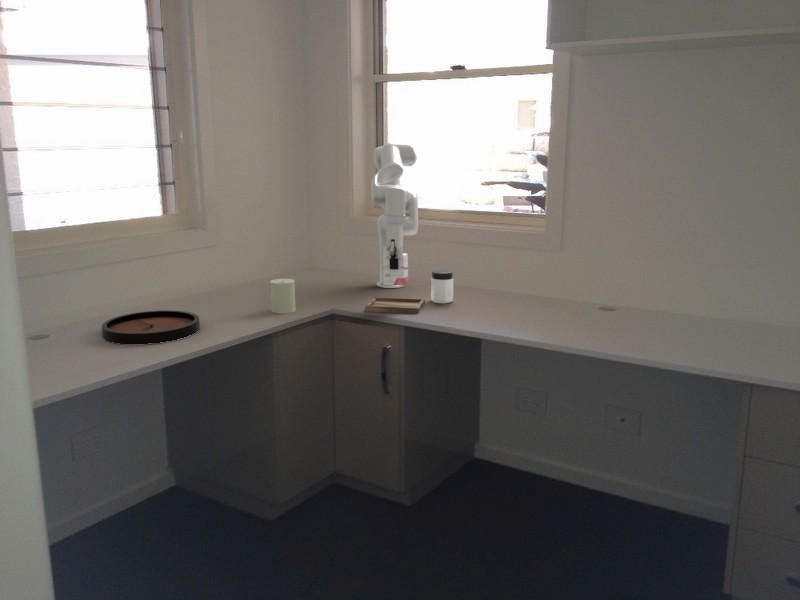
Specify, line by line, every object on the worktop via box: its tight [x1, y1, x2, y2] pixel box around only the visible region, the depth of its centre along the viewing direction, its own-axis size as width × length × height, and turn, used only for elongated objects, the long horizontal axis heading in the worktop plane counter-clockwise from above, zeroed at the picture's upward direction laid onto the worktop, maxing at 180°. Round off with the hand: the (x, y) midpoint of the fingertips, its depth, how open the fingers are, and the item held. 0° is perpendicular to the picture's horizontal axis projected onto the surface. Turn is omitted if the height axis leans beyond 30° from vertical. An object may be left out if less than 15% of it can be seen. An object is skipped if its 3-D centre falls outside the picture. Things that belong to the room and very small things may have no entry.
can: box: [269, 278, 297, 315], centre depth 275 cm, size 9×9×12 cm
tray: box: [365, 296, 426, 315], centre depth 280 cm, size 16×20×2 cm
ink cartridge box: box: [383, 246, 409, 287], centre depth 277 cm, size 9×5×15 cm, turn 68°
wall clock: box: [101, 309, 201, 345], centre depth 248 cm, size 31×4×31 cm
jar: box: [430, 269, 454, 304], centre depth 290 cm, size 9×8×12 cm
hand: (395, 267), depth 277 cm, fingers closed on ink cartridge box, 5 cm apart
